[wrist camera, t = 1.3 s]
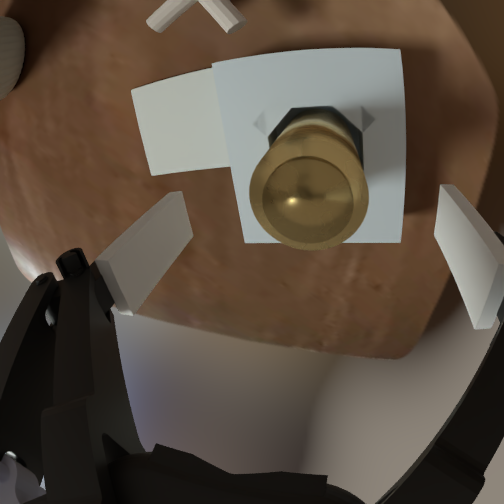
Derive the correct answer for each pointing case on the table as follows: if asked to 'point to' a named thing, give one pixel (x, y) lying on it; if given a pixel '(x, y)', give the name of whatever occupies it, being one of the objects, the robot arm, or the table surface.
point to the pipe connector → (214, 3)
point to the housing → (319, 97)
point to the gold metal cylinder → (310, 183)
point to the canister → (10, 54)
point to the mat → (181, 123)
